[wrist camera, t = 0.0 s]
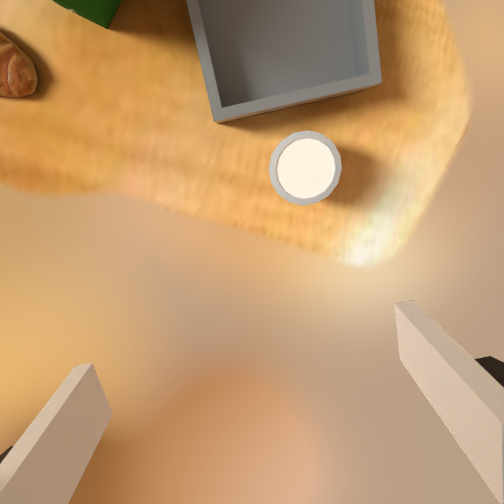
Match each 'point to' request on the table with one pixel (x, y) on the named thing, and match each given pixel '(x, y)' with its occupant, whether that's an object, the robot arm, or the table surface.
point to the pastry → (15, 70)
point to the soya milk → (93, 9)
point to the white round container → (305, 167)
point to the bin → (283, 52)
